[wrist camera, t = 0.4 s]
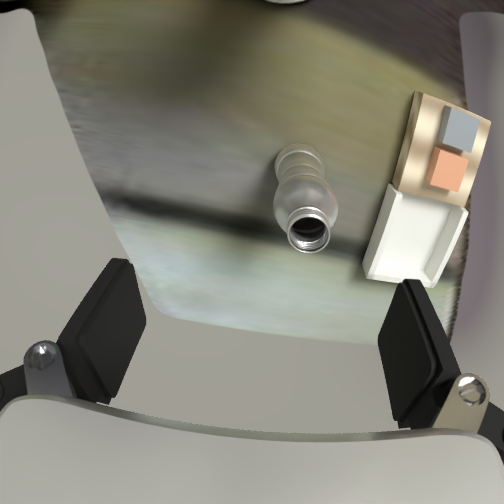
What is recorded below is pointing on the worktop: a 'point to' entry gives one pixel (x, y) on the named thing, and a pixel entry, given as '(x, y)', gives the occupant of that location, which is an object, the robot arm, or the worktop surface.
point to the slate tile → (458, 129)
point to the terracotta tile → (446, 169)
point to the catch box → (412, 238)
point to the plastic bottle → (304, 198)
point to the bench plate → (421, 148)
